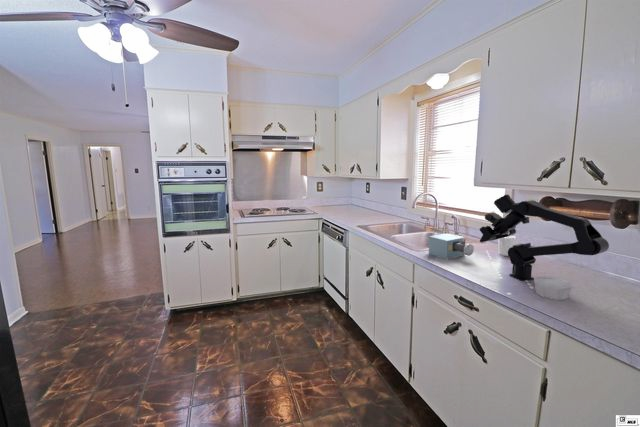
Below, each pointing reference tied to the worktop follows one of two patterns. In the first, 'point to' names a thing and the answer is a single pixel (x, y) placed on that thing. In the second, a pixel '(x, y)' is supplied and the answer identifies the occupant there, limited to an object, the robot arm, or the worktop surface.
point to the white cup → (505, 244)
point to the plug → (463, 248)
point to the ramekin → (552, 288)
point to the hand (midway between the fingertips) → (485, 240)
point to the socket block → (445, 245)
